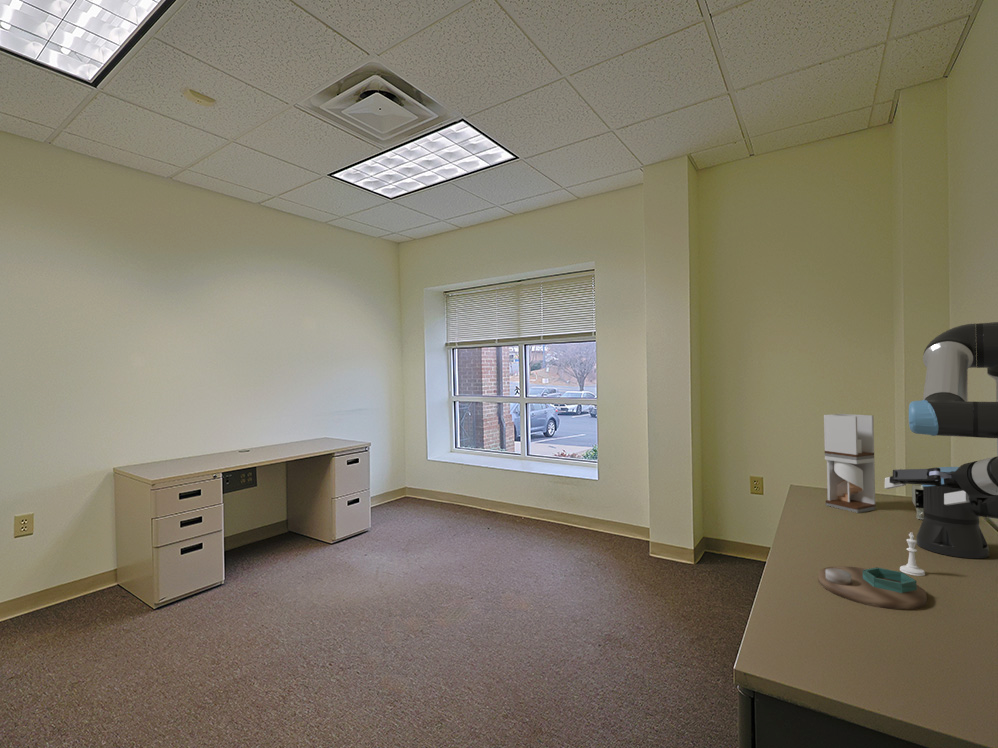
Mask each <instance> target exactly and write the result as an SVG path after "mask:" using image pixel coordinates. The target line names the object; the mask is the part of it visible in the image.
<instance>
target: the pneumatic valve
mask: <svg viewBox="0 0 998 748" xmlns="http://www.w3.org/2000/svg"><path fill="white" fill-rule="evenodd" d="M911 502H912V503H913V505H914V507H915V510H916V515H915V517H916V519H917V520H918V519H920V520H922V521H923V519H924V494H923V486H922V485H919V484H911ZM920 520H919V521H920Z"/></svg>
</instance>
